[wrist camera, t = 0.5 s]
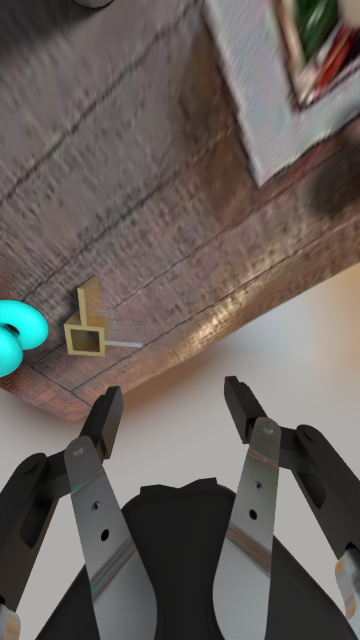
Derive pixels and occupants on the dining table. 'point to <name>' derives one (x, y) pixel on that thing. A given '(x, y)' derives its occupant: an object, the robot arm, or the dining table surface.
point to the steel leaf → (117, 331)
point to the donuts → (7, 345)
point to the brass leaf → (87, 322)
